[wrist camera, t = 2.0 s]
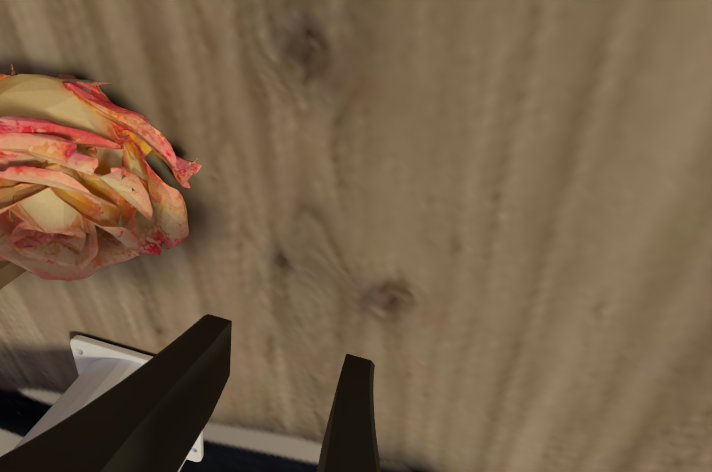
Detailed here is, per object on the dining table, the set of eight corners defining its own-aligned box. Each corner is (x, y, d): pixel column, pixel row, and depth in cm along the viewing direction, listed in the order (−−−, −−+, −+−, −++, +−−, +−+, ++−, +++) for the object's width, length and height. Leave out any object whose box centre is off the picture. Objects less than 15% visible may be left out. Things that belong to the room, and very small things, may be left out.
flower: (-72, 102, 17) (-142, 280, 14) (-67, -91, 12) (-178, 131, 9) (164, 170, 23) (153, 308, 20) (244, 62, 17) (247, 229, 14)
